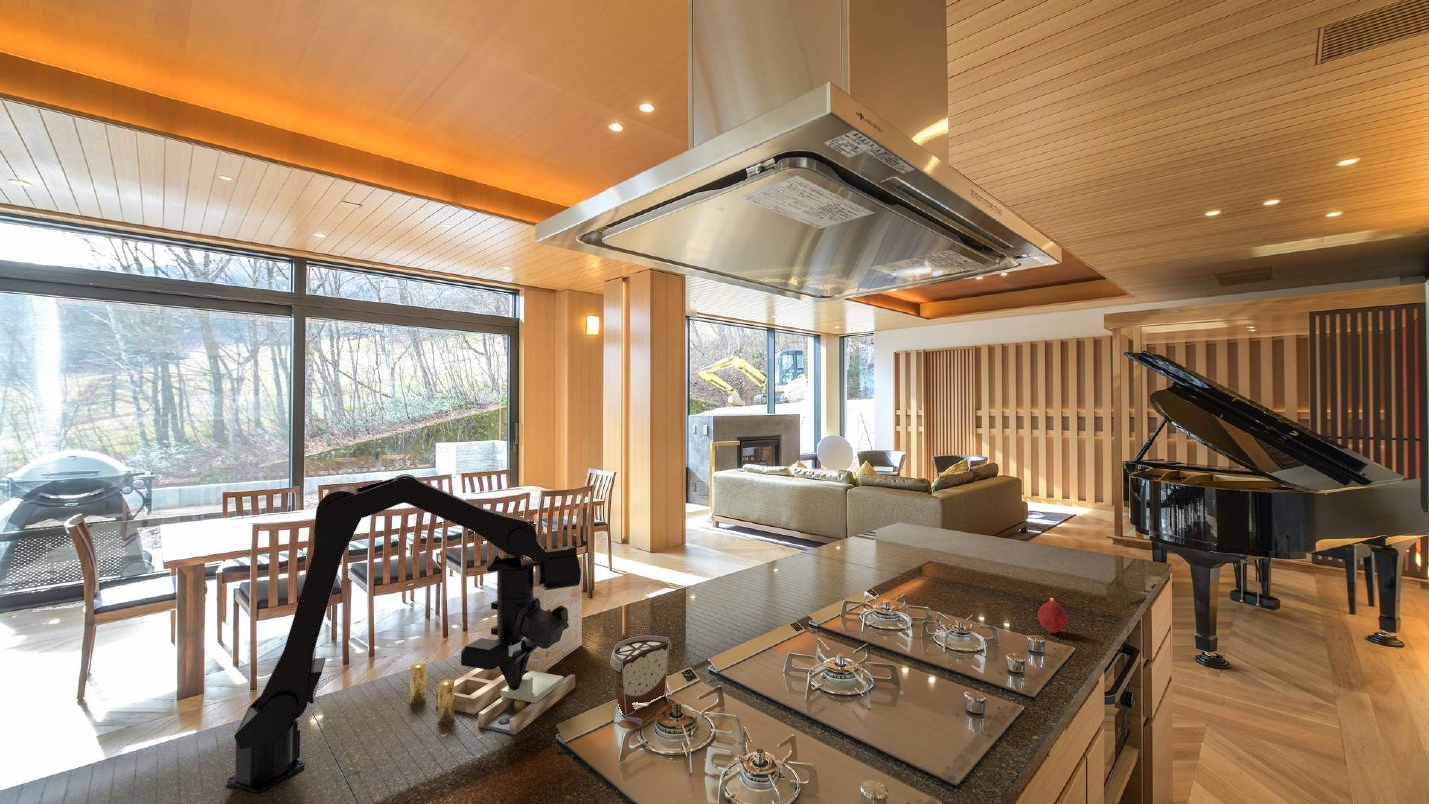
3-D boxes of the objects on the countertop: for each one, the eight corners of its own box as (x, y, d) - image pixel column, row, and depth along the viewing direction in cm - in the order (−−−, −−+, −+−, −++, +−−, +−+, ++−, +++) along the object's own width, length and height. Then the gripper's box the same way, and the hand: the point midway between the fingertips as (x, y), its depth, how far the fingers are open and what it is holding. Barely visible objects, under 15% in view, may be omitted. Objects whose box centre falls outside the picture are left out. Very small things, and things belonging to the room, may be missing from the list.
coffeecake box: (554, 641, 130) (555, 552, 130) (583, 645, 128) (584, 554, 128) (511, 669, 115) (512, 569, 116) (543, 674, 113) (544, 572, 114)
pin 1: (417, 704, 101) (418, 669, 101) (406, 702, 102) (407, 667, 102) (428, 698, 104) (429, 664, 104) (418, 696, 104) (418, 662, 104)
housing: (514, 734, 92) (515, 720, 92) (478, 726, 94) (478, 713, 94) (575, 687, 108) (575, 675, 108) (542, 681, 110) (542, 669, 110)
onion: (1072, 638, 133) (1072, 602, 133) (1046, 637, 133) (1046, 602, 133) (1058, 628, 138) (1058, 594, 139) (1033, 628, 139) (1033, 594, 139)
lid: (535, 703, 97) (535, 681, 97) (500, 696, 99) (500, 675, 99) (563, 682, 104) (563, 662, 105) (530, 676, 107) (530, 656, 107)
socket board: (474, 714, 98) (474, 698, 98) (436, 706, 101) (436, 691, 101) (520, 683, 110) (520, 669, 110) (484, 676, 112) (485, 663, 112)
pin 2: (446, 724, 95) (446, 687, 95) (434, 722, 96) (434, 684, 96) (457, 717, 97) (457, 680, 97) (445, 715, 98) (446, 678, 98)
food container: (647, 683, 110) (647, 629, 110) (671, 693, 106) (671, 637, 106) (594, 709, 100) (595, 649, 100) (618, 721, 96) (619, 659, 96)
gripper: (519, 618, 86) (519, 726, 86) (588, 583, 104) (587, 673, 103) (458, 610, 90) (457, 713, 89) (534, 577, 107) (534, 664, 107)
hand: (514, 689), depth 97 cm, fingers closed
